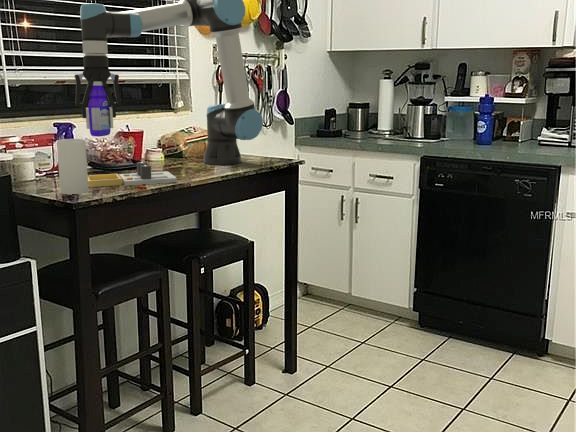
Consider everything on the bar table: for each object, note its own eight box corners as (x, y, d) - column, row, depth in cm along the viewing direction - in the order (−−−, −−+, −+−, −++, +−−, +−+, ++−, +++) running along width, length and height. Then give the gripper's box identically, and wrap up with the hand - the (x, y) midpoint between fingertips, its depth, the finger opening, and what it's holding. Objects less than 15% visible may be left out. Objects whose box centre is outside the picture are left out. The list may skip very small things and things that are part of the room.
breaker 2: (149, 176, 210) (149, 164, 209) (151, 178, 208) (150, 166, 207) (140, 177, 209) (140, 165, 208) (142, 178, 207) (141, 166, 206)
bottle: (103, 137, 200) (99, 81, 196) (86, 136, 201) (83, 81, 197) (113, 134, 207) (110, 81, 203) (97, 134, 208) (94, 80, 204)
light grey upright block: (93, 192, 193) (90, 140, 190) (69, 196, 187) (65, 142, 184) (79, 188, 199) (76, 138, 195) (55, 192, 193) (51, 140, 189)
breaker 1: (145, 173, 217) (145, 161, 216) (147, 174, 214) (146, 162, 213) (137, 173, 216) (136, 162, 215) (138, 175, 213) (138, 163, 212)
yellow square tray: (117, 179, 214) (117, 173, 214) (122, 184, 205) (121, 178, 204) (85, 181, 210) (85, 175, 210) (88, 187, 201) (88, 180, 200)
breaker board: (168, 175, 222) (167, 169, 222) (176, 182, 210) (176, 176, 209) (119, 178, 216) (118, 172, 216) (125, 185, 203) (124, 179, 203)
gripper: (125, 55, 205) (128, 126, 210) (62, 54, 197) (67, 127, 203) (128, 55, 198) (132, 128, 203) (63, 54, 191) (69, 130, 196)
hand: (100, 128), depth 203 cm, fingers closed on bottle, 7 cm apart
